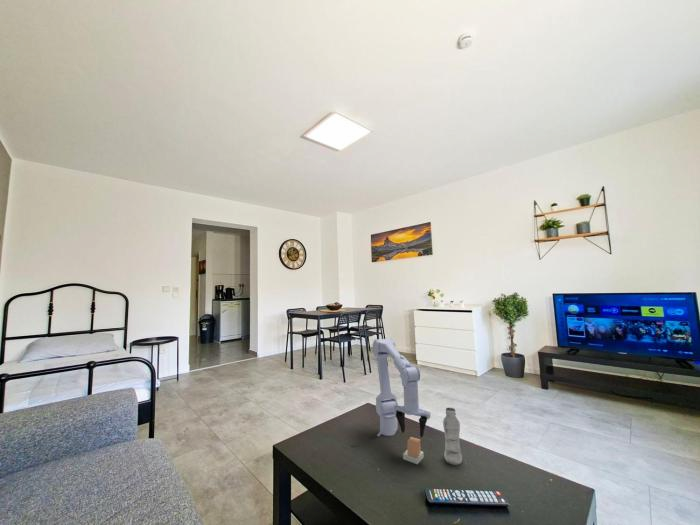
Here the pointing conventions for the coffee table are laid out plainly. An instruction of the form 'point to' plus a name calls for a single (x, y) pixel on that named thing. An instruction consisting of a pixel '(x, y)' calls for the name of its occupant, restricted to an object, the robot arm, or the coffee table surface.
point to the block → (414, 447)
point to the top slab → (413, 459)
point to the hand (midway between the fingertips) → (412, 433)
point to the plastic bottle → (452, 438)
